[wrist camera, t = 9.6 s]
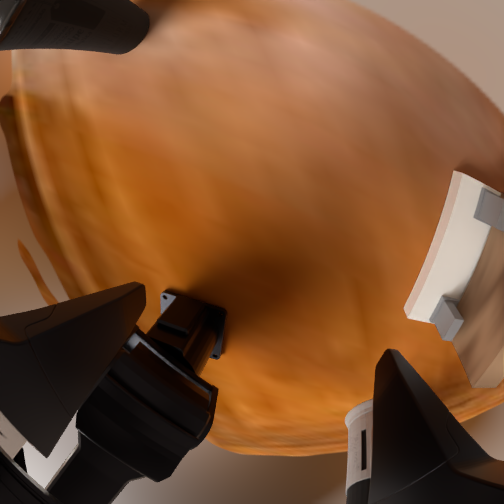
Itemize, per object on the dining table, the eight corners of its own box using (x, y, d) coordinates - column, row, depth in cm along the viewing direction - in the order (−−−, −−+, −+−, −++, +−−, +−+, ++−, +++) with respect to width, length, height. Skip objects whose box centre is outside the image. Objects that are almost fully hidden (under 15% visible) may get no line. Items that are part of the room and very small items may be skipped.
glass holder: (351, 437, 29) (344, 532, 15) (326, 379, 25) (312, 516, 11) (412, 422, 26) (421, 518, 12) (409, 356, 22) (435, 494, 8)
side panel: (485, 325, 19) (502, 353, 15) (403, 308, 20) (416, 341, 16) (533, 214, 14) (560, 230, 10) (453, 170, 15) (483, 179, 11)
